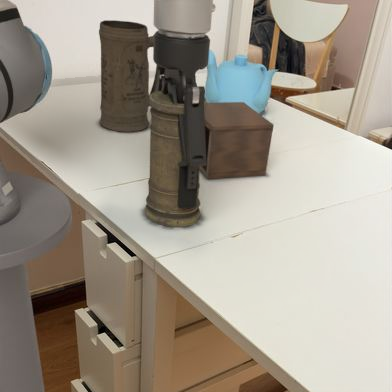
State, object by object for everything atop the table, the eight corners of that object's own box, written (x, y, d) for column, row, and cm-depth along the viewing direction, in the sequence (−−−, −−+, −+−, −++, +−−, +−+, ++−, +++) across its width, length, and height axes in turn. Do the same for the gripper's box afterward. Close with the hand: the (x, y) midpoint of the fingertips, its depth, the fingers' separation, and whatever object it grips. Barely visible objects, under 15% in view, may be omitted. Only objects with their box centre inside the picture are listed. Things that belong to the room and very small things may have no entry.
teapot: (199, 117, 128) (203, 60, 120) (200, 96, 142) (204, 44, 134) (270, 123, 128) (279, 67, 120) (264, 101, 142) (272, 50, 134)
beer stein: (116, 135, 113) (120, 27, 101) (87, 121, 119) (88, 17, 107) (170, 129, 122) (180, 29, 110) (142, 116, 128) (148, 20, 116)
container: (198, 230, 83) (208, 109, 72) (141, 224, 83) (142, 103, 72) (201, 205, 90) (211, 92, 78) (148, 200, 90) (151, 86, 78)
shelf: (207, 179, 99) (212, 126, 93) (184, 151, 109) (187, 103, 103) (265, 175, 103) (273, 124, 97) (237, 149, 113) (243, 101, 107)
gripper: (244, 53, 63) (224, 221, 76) (180, 16, 80) (173, 159, 93) (184, 52, 60) (174, 226, 74) (132, 15, 77) (132, 162, 91)
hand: (174, 189), depth 84 cm, fingers open, 12 cm apart
